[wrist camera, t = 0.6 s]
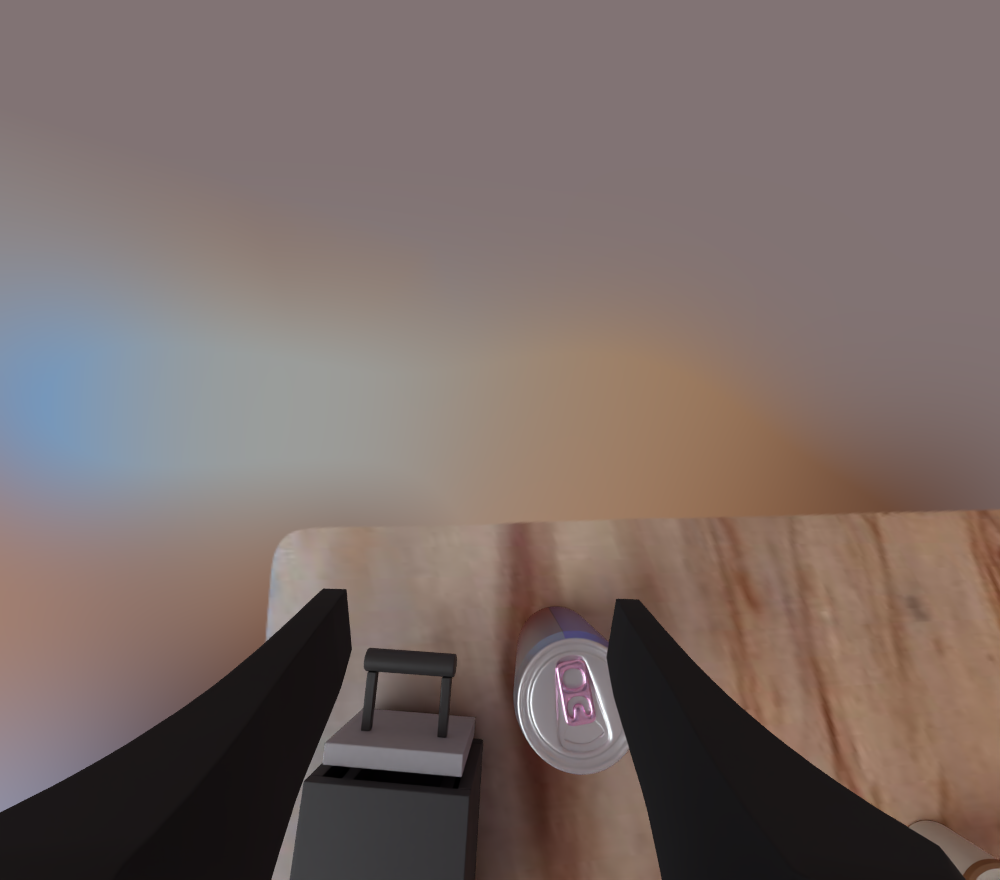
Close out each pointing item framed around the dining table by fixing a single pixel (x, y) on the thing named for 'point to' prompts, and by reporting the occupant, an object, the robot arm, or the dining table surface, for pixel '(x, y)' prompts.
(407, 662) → the drawer
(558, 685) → the beverage can
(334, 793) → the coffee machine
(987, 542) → the dining table surface
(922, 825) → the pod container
